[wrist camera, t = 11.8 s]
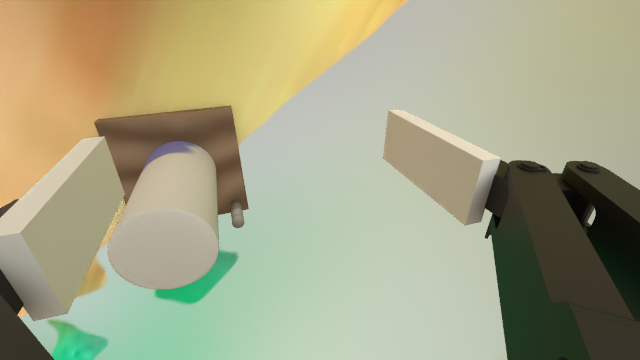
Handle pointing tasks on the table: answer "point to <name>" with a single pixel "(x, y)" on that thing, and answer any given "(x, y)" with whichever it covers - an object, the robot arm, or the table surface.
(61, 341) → the table surface
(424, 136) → the robot arm
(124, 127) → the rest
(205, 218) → the container
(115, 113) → the table surface
